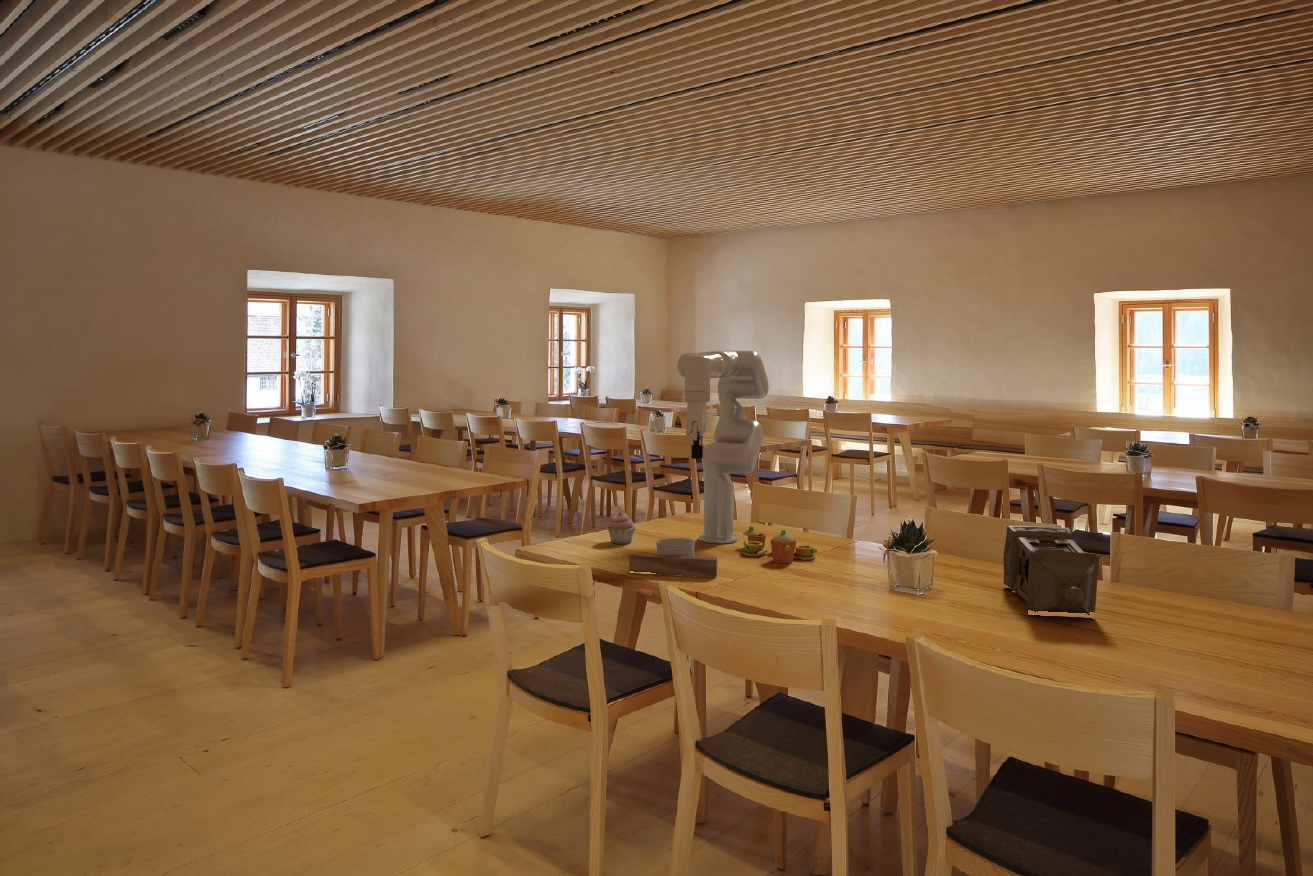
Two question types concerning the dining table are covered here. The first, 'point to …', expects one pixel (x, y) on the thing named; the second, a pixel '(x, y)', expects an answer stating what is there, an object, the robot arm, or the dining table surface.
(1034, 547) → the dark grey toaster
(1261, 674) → the dining table surface
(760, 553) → the toy tea set
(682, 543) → the grey rounded block
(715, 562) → the block
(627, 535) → the cupcake
